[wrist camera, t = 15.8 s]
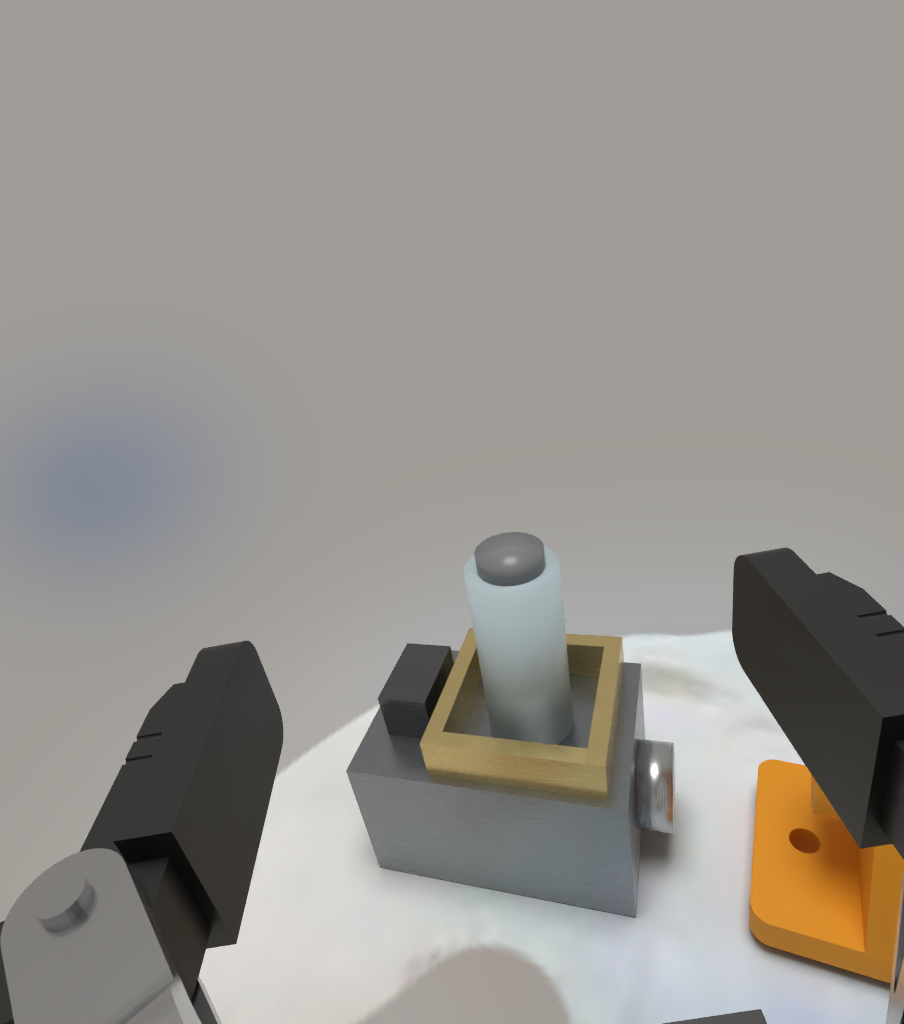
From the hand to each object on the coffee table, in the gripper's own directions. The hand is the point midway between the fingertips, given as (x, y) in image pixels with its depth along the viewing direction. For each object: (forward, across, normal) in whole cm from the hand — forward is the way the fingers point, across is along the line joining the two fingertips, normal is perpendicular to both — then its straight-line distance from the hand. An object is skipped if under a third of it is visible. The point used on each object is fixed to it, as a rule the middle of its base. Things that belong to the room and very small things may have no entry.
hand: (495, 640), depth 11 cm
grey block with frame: (+21, +1, +32) cm, 38 cm away
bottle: (+20, -1, +23) cm, 31 cm away
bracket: (+14, -16, +32) cm, 39 cm away
